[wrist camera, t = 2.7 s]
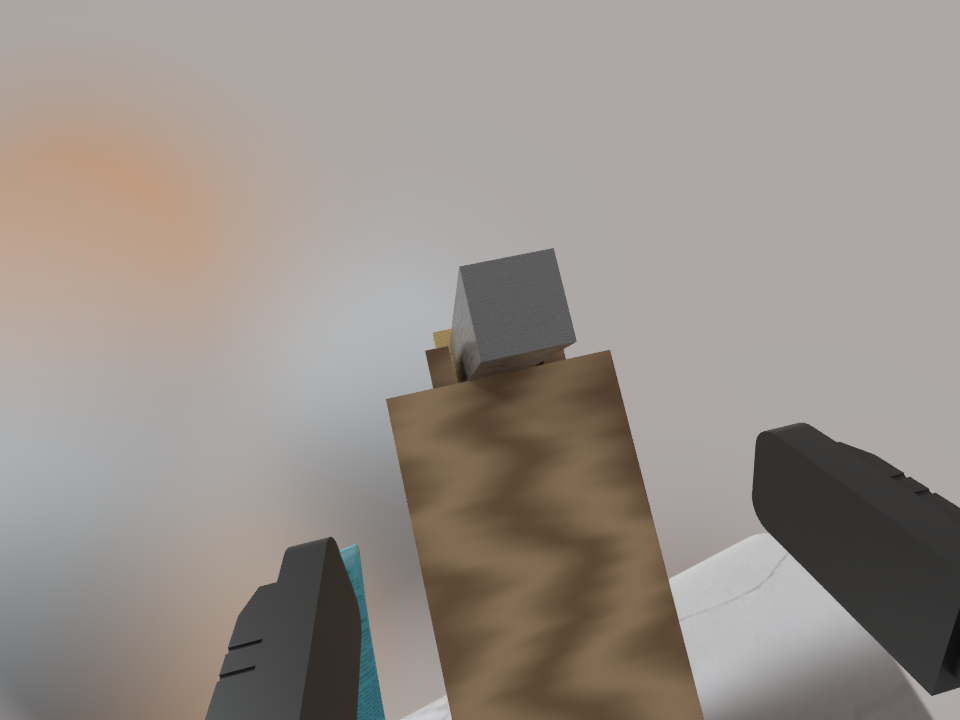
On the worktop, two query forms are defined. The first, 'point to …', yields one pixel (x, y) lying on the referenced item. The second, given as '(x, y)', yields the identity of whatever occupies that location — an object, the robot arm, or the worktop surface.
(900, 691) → the worktop surface
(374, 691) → the tube
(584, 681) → the post
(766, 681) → the worktop surface
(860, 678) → the worktop surface
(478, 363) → the grey long block
